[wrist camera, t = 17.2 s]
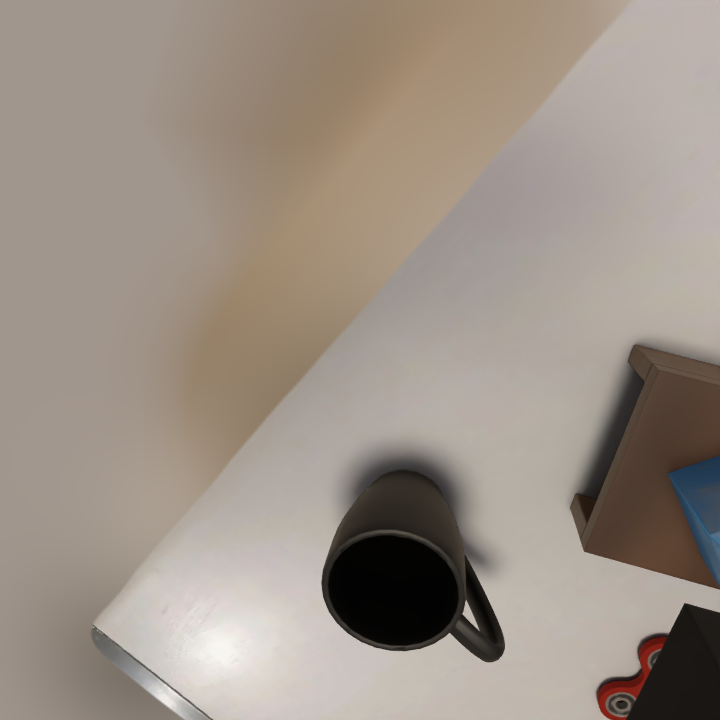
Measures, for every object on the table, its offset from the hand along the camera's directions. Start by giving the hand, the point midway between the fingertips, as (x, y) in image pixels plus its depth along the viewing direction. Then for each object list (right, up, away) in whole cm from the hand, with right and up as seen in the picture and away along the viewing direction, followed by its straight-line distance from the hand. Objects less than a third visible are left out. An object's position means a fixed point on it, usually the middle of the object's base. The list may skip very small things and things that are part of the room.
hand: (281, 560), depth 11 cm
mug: (+6, -8, +34) cm, 35 cm away
